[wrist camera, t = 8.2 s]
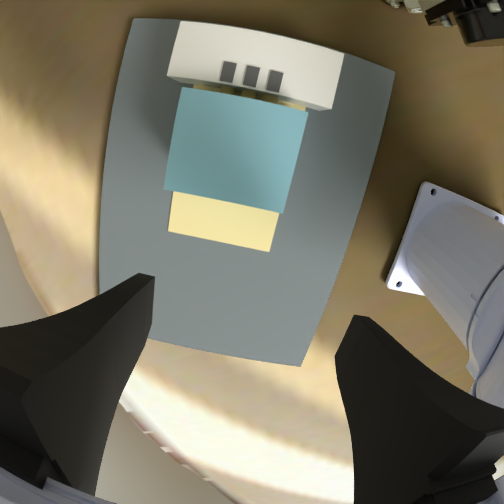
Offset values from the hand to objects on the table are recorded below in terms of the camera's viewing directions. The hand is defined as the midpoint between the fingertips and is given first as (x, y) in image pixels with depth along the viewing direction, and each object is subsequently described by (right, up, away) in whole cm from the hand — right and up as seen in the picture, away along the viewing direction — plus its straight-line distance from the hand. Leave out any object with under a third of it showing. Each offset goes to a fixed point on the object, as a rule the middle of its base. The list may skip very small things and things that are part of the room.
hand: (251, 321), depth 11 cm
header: (0, +11, +5) cm, 12 cm away
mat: (-2, +5, +9) cm, 10 cm away
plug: (-1, +8, +6) cm, 11 cm away
